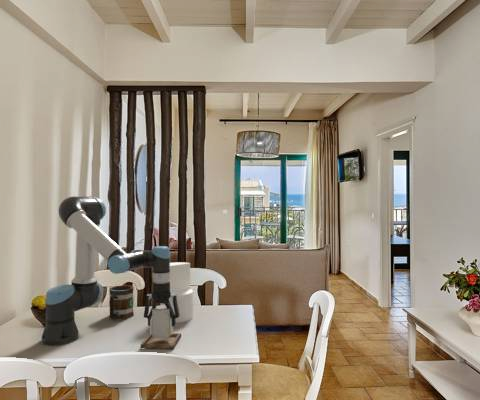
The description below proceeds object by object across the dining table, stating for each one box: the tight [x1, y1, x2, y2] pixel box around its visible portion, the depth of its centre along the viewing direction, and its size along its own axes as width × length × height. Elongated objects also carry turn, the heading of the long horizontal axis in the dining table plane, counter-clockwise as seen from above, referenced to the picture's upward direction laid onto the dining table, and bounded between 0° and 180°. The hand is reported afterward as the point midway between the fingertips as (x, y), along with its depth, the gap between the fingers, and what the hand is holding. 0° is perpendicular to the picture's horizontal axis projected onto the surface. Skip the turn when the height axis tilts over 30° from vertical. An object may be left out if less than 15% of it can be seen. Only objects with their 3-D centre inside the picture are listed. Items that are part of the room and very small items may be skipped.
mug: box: [108, 284, 135, 321], centre depth 195 cm, size 20×14×15 cm
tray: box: [140, 332, 182, 351], centre depth 160 cm, size 14×14×2 cm
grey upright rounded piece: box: [152, 305, 171, 339], centre depth 160 cm, size 8×8×12 cm
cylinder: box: [159, 261, 194, 324], centre depth 195 cm, size 17×17×28 cm
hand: (161, 333), depth 160 cm, fingers closed on grey upright rounded piece, 8 cm apart
